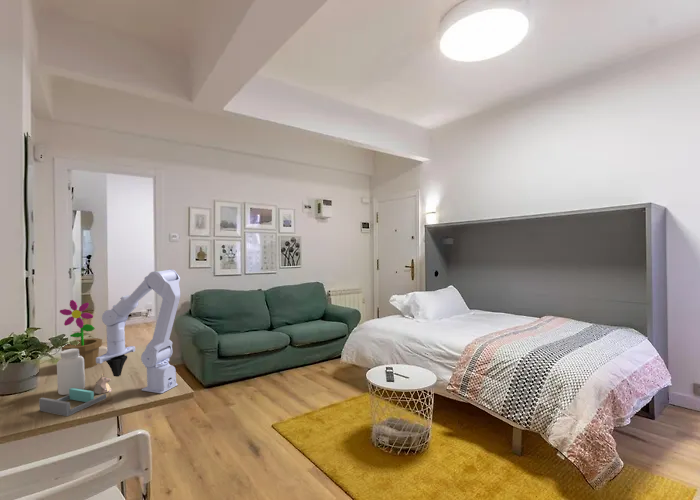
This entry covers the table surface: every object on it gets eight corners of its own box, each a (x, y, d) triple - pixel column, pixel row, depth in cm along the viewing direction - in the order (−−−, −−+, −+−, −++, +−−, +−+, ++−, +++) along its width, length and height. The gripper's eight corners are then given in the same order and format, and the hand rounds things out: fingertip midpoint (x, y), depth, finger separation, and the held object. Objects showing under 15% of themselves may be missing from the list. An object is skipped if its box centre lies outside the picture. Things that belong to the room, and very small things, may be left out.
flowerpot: (55, 373, 149) (51, 301, 148) (73, 361, 163) (70, 296, 162) (94, 370, 152) (91, 300, 151) (108, 358, 166) (106, 294, 165)
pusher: (94, 401, 122) (93, 391, 122) (91, 403, 121) (90, 392, 121) (72, 397, 125) (72, 387, 125) (69, 399, 125) (69, 389, 124)
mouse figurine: (87, 391, 131) (86, 373, 131) (113, 387, 134) (112, 370, 134) (83, 397, 126) (82, 378, 126) (110, 393, 130) (109, 374, 129)
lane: (106, 398, 125) (105, 387, 125) (67, 416, 113) (66, 403, 113) (80, 393, 129) (79, 382, 129) (39, 410, 117) (39, 398, 117)
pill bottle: (55, 397, 126) (53, 355, 126) (61, 389, 134) (59, 349, 133) (83, 392, 130) (81, 351, 130) (87, 384, 137) (85, 346, 137)
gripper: (125, 334, 144) (126, 367, 144) (89, 345, 130) (90, 382, 130) (138, 335, 142) (139, 369, 142) (103, 346, 128) (105, 384, 128)
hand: (117, 375), depth 136 cm, fingers closed
